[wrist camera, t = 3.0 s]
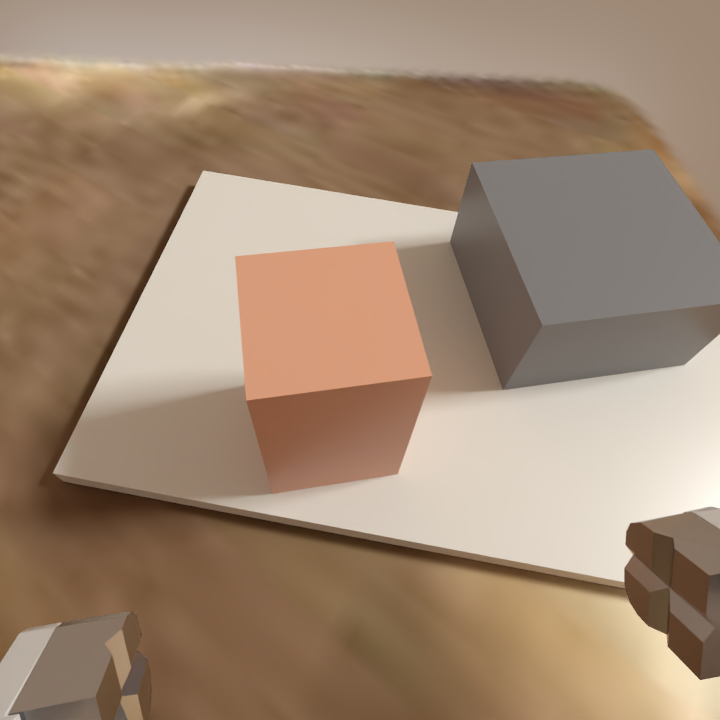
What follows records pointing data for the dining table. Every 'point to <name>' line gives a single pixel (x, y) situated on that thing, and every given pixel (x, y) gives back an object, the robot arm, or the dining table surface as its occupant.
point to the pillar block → (330, 362)
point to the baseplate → (435, 420)
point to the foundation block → (586, 266)
